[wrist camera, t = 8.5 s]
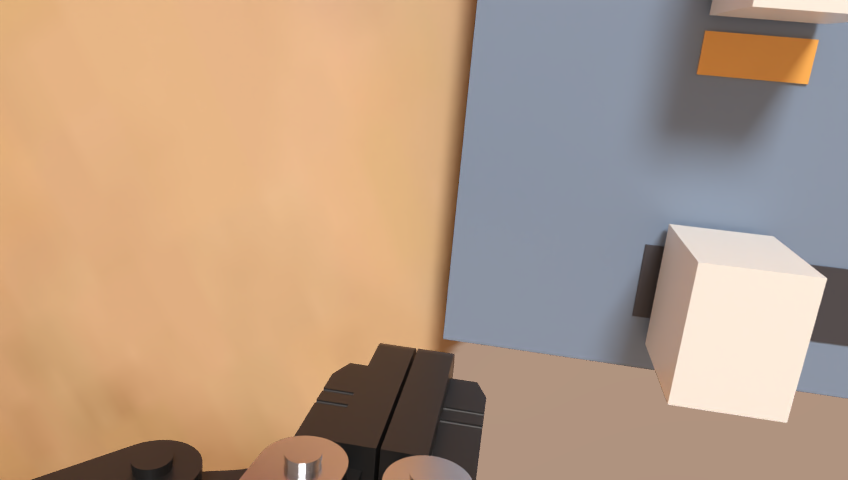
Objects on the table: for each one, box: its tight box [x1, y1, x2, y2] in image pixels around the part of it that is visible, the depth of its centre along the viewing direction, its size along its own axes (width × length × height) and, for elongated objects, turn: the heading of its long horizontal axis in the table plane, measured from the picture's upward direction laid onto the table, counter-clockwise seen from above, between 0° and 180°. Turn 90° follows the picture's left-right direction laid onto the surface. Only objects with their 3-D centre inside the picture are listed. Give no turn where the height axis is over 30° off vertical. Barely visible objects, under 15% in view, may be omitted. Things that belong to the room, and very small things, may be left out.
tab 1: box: [645, 224, 827, 423], centre depth 18 cm, size 3×4×4 cm
